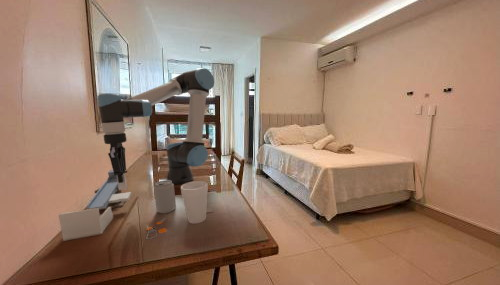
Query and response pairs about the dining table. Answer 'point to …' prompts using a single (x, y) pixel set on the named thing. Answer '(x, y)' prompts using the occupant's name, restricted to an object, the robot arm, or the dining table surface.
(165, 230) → the key chain
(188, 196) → the foam cup
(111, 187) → the lever
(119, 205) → the fulcrum
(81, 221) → the white rectangular box
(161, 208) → the can
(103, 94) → the robot arm
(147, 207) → the dining table surface
